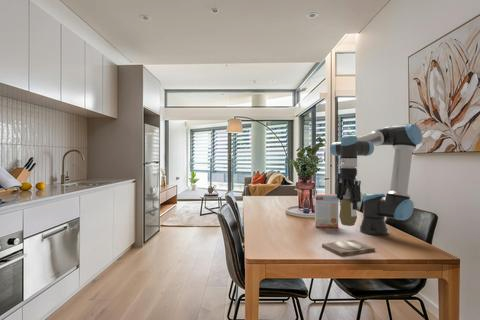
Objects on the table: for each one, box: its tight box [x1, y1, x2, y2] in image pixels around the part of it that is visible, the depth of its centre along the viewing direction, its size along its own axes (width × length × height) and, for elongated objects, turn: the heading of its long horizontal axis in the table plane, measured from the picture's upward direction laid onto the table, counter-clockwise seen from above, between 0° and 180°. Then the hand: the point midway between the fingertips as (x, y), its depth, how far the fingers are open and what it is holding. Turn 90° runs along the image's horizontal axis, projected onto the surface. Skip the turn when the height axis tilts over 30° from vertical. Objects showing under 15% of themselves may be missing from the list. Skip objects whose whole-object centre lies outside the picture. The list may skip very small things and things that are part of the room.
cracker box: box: [314, 193, 339, 229], centre depth 181 cm, size 14×6×21 cm, turn 84°
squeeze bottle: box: [338, 188, 358, 227], centre depth 137 cm, size 8×8×18 cm
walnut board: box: [321, 239, 376, 257], centre depth 138 cm, size 20×14×2 cm
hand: (348, 214), depth 138 cm, fingers closed on squeeze bottle, 6 cm apart
